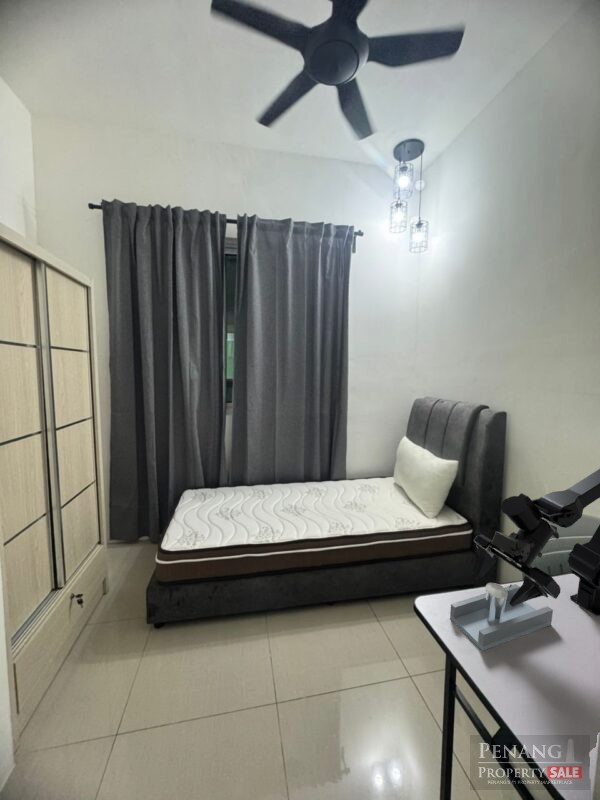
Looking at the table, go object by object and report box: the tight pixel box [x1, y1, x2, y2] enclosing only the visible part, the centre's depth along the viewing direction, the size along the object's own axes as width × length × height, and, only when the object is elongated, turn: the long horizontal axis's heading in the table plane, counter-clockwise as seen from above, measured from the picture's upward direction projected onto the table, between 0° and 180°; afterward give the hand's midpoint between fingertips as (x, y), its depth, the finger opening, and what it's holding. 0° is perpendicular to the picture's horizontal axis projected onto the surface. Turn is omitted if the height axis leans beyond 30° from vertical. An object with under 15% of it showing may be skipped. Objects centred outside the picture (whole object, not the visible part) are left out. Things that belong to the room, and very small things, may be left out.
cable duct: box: [449, 583, 554, 652], centre depth 78 cm, size 22×9×4 cm, turn 109°
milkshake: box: [485, 582, 513, 625], centre depth 77 cm, size 4×5×10 cm
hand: (492, 591), depth 76 cm, fingers open, 9 cm apart
